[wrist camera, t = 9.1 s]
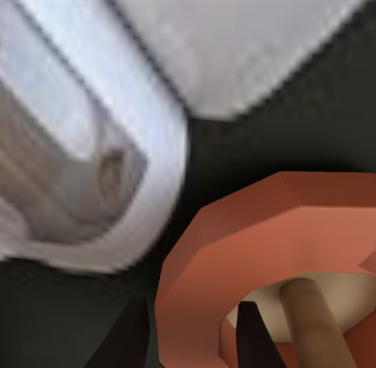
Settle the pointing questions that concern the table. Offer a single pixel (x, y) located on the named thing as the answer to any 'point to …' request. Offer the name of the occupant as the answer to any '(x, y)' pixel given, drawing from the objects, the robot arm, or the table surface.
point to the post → (315, 314)
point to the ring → (264, 261)
